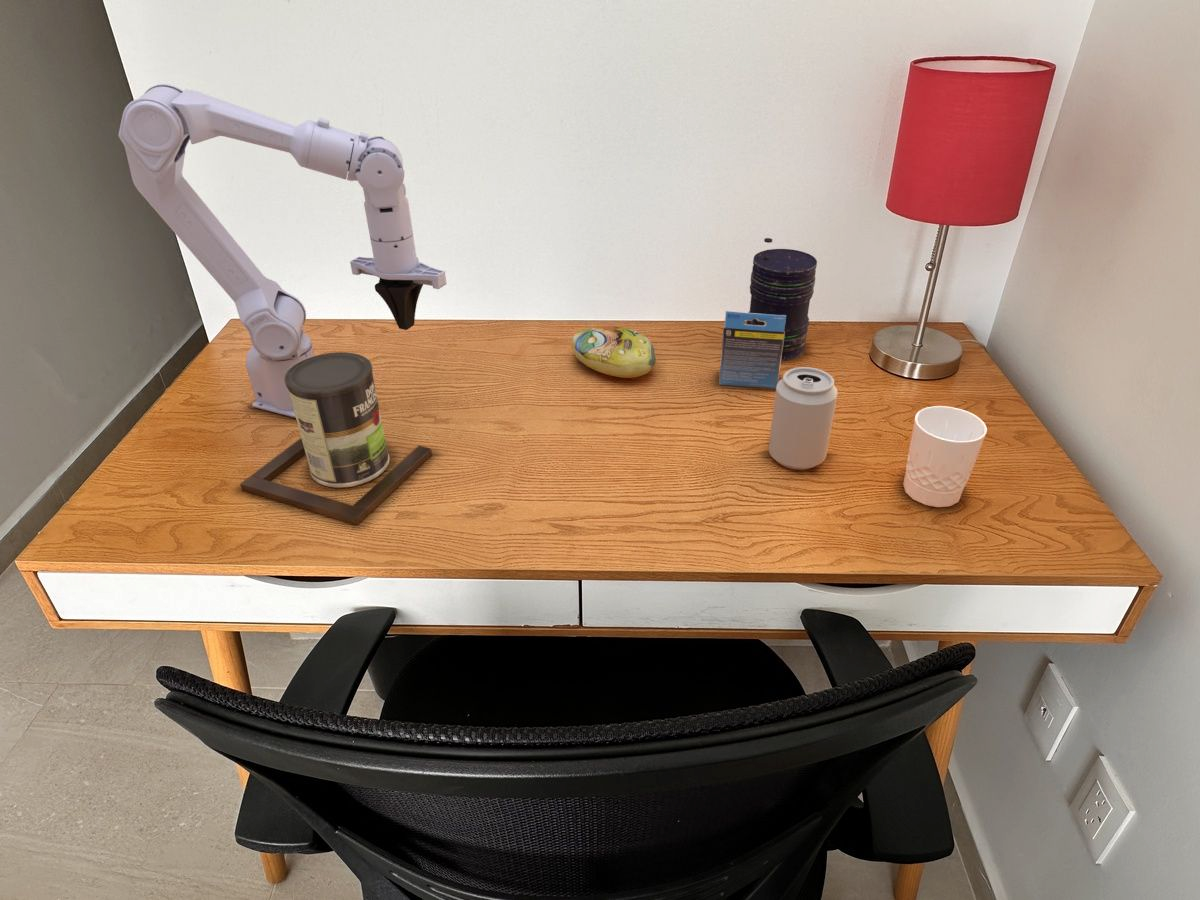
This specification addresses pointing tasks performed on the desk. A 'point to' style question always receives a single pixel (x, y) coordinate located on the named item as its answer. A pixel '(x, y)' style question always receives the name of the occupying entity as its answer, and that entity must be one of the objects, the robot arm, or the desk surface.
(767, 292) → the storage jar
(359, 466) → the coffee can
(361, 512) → the walnut frame
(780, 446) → the can
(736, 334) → the label tape box
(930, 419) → the white cup
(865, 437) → the desk surface
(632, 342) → the cell model
